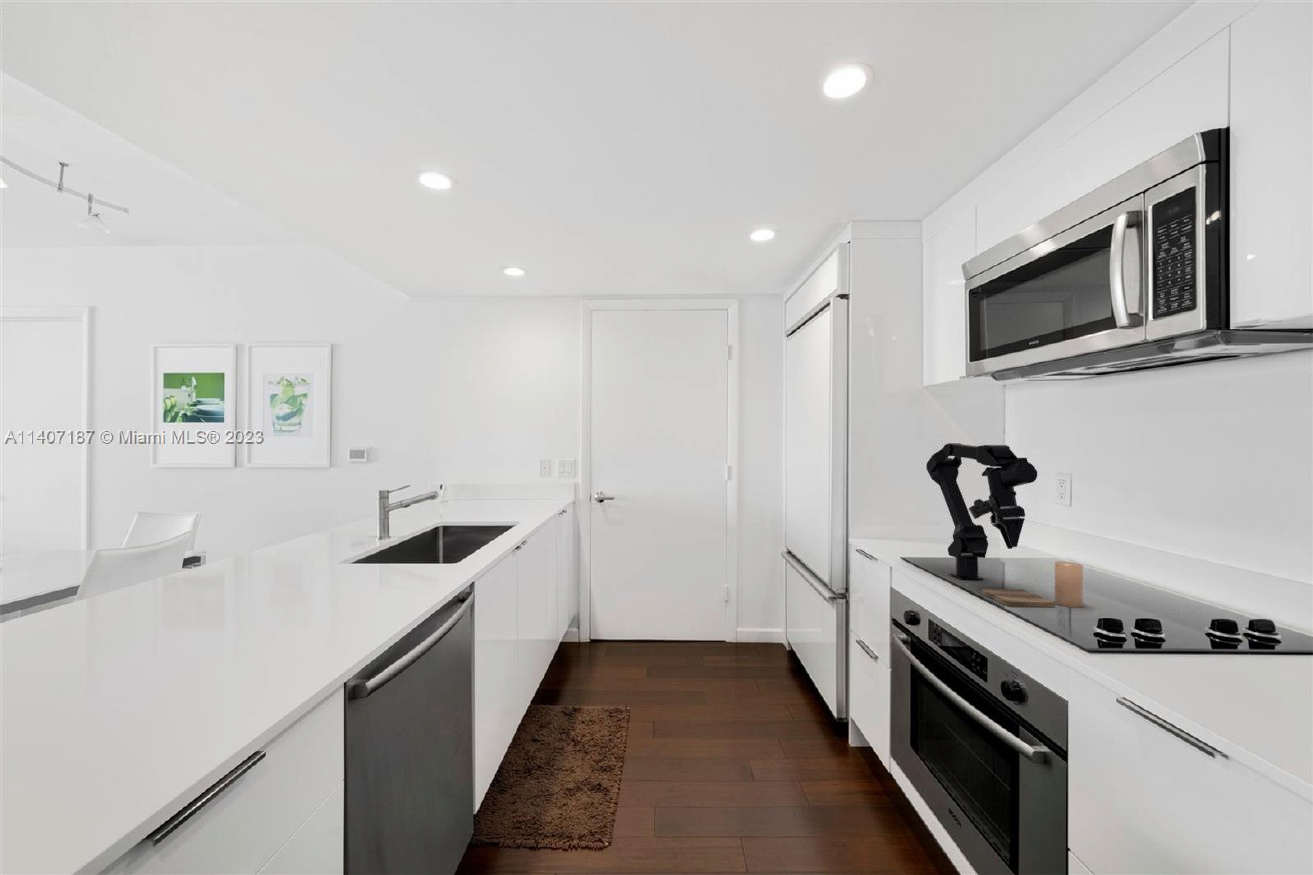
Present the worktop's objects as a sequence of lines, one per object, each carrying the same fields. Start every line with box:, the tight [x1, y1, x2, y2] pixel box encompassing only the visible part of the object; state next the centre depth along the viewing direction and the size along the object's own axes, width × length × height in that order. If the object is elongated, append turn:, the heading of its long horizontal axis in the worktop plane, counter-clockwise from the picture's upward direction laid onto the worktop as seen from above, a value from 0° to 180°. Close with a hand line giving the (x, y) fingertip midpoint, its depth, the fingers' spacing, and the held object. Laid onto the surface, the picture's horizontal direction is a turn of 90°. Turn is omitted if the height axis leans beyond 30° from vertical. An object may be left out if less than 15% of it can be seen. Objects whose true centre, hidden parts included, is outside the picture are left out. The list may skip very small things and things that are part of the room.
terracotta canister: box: [1054, 560, 1084, 608], centre depth 138 cm, size 6×6×10 cm
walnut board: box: [980, 588, 1056, 608], centre depth 141 cm, size 12×11×1 cm
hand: (1012, 547), depth 148 cm, fingers open, 9 cm apart
